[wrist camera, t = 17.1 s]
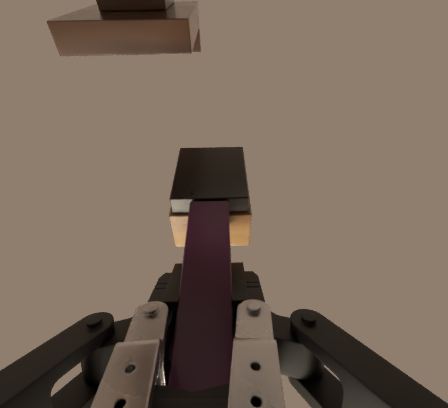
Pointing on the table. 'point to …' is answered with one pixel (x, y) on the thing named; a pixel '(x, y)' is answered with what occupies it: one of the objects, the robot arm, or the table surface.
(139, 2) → the dark wooden post
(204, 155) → the brush
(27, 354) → the robot arm
